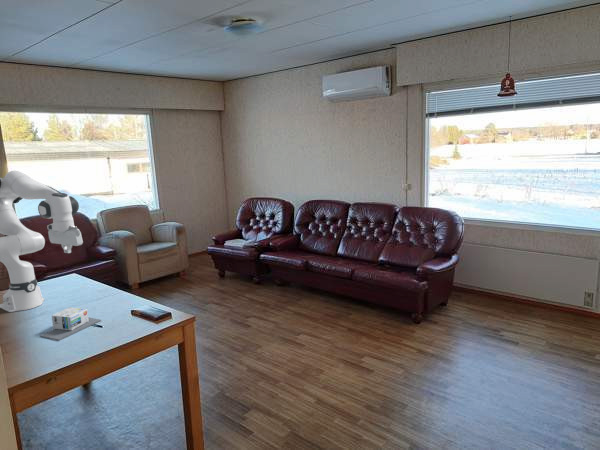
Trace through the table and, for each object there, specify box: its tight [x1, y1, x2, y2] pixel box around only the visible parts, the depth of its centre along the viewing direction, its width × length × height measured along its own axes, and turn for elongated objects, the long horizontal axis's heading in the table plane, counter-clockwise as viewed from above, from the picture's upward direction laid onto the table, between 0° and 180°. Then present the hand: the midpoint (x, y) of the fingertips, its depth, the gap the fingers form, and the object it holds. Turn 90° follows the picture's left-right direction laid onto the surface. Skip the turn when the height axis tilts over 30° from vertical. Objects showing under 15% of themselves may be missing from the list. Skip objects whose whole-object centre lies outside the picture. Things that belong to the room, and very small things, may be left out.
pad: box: [40, 316, 102, 342], centre depth 194 cm, size 12×22×1 cm, turn 156°
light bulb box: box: [51, 307, 89, 331], centre depth 195 cm, size 11×7×11 cm
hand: (67, 252), depth 210 cm, fingers closed
